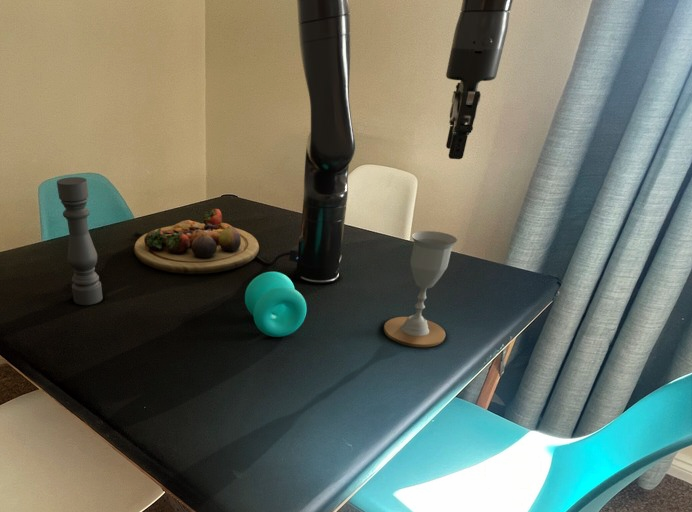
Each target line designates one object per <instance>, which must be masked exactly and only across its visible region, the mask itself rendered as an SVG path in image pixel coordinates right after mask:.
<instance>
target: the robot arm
mask: <svg viewBox="0 0 692 512" xmlns="http://www.w3.org/2000/svg"><path fill="white" fill-rule="evenodd" d="M513 2H514V0H462V3H461V6H460V12H459V16H458V19H457V22H456V26H455V30H454V33H453V38H452V43H451V48H450V53H449V58H448V63H447V67H446V73H445V77H446V78H447V79H448V80H452V81H460V82H457V84H455V90H454V91H453V92H452V98H451V105H450V109H449V122H448V123H449V130H448V134H447V139H446V144H445V147H446V149H449V150H448V158H449V160H461V159H463V158H464V153H465V150H466V145H467V140H468V137H469V136H470V134H471V133H472V131H473V129H474V122H475V120H476V117H477V111H478V106H479V103H480V101H481V97H482V96H481V95H482V93H481V90H478V88H479V84H480V83H481V82H488V81H489V82H491V81H493V80H495V79H496V78H497V74H498V72H499V66H500V63H501V59H502V54H503V51H504V46H505V42H506V38H507V34H508V30H509V29H508V28H509V21H510V20H509V19H510V15H511V10H512V5H513ZM296 7H297V23H298V38H299V39H298V41H299V49H300V58H301V64H302V68H303V69H302V70H303V74H304V79H305V83H306V87H307V92H308V97H309V104H310V105H309V106H310V132H309V134H308V136H307V139H306V145H305V147H306V148H305V160H304V173H303V174H304V176H303V199H302V212H301V225H300V228H301V229H300V236H299V238H298V244H296V245H295V246H294V247H292V248H290V249H289V251H287V252H286V251H285V252H282V253H279V254H278V255H277V256H275V257H274V258H273V260H272V261H266V260H264V259H263V258H261V257H260V256H258V254H257V255H256V256H255V257H254V259H256V260H258V261H259V262H261V263H263V264H265V265H268V266H272V265H274V264H276V263H277V261H278V260H279V259H280V258H282V257H285V256H289V259H288V261H290V262H294V263H296V271H295V279H296V280H301V281H303V282H305V283H309V284H314V285H325V284H332V283H334V282H336V281H338V279H339V272H340V262H341V260H342V254H341V253H342V248H343V247H342V246H343V238H344V229H345V221H346V212H347V205H348V195H349V186H348V185H349V183H348V182H349V166H350V164H351V162H352V161H353V159H354V156H355V152H356V140H355V133H354V128H353V121H352V111H351V103H350V81H351V79H350V78H351V14H350V12H351V11H350V2H349V0H296ZM134 234H135V235H137V236H139V237H142V236H143V235H145V233H141V232H138V231H135V233H134Z"/></svg>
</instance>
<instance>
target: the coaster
mask: <svg viewBox="0 0 692 512" xmlns="http://www.w3.org/2000/svg"><path fill="white" fill-rule="evenodd" d="M409 317H410V316H398V317H393V318H390V319H388V320H387V321H386V322H385V323H384V325H383V331H384V334H385V335H386V336H387V337H388V338H389V339H391V340H392V341H394V342H396V343H398V344H401V345H403V346H409V347H413V348H431V347H436V346H439V345H440V344H442V343H443V342H444V340H445V338H446V332H445V330H444V328H443V327H441V326H440V325H439V324H437V323H436V322H433V321H431V320H430V319H429V320H428V319H426V321H427V325H428V329H429V333H428V334H427V335H424V336H414V335H410V334H407V333H405V332H403V331H402V329H401V326H402V325H403V324H404V322H405V321H406V320H407V318H409Z"/></svg>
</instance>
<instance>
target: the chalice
mask: <svg viewBox="0 0 692 512" xmlns="http://www.w3.org/2000/svg"><path fill="white" fill-rule="evenodd" d="M411 237H412V240H413V245H412V252H411V256H410V261H409V263H410V268H411V273H412V276H413V279H414V282H415V285H416V286H417V287H418V288H419V289H420V291H419V293H418V295H417V296H416V298H417V302H416V304H415V305H414V307H415V313H414V314H412V315H410V316H408V317H409V318H407V320H406V321H405V322H404V324H403V325H402V326H401V329H402V331H403V332H405V333H407V334H410V335H414V336H424V335H427V334H428V333H429V329H428V325H427V321H426V320H427V319H426V318H425V317H424V316H423V315H422V312H423V310H424V309H425V308H426V306H425V303H424V302H425V300H426V299H427V297H428V296H427V291H428V290H427V289H431V288H433V287H434V286H435V285H436V283H437V282H438V281H439V280H440V279H441V278H442V276H443V274H444V273H445V271H446V270H447V269H448V266H449V261H450V258H451V253H452V249H453V246H454V245H455V244H456V243H457V241H458V238H457V237H456V236H454V235H452V234H449V233H446V232H441V231H434V230H433V231H431V230H424V231H423V230H422V231H416V232H414V233H412V235H411Z"/></svg>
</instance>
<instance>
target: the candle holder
mask: <svg viewBox="0 0 692 512" xmlns="http://www.w3.org/2000/svg"><path fill="white" fill-rule="evenodd" d="M56 188H57V194H58V199H59V200H60V203H61V204H62V205H63V207H64V209H65V210H64V211H63V212H62V216H63V218H65V220H66V221H67V229H68V245H67V247H68V248H67V259H66V260H67V263H68V265H69V266H70V267H71V268H72V269H73V270H72V271H73V272H74V274H73V276H72V277H71V283H72V284H71V291H72V292H71V293H72V297H73V298H72V299H73V302H74V303H75V304H77V305H80V306H91V305H94V304H98V303H100V302H101V301H102V300H103V298H104V297H103V296H104V295H103V288H102V282H101V281H100V275H98V273H97V272H96V271H95V270H96V267H95V266H96V265H97V264H98V263H97V262H98V253H97V250H96V248H95V245H94V242H93V240H92V237H91V233H90V231H89V224H88V217H89V215H90V210H89V209H88V208H86V207H87V203H88V199H89V188H88V180H87V178H85V177H79V176H72V177H71V176H70V177H63V178H60V179H58V180H56Z"/></svg>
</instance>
